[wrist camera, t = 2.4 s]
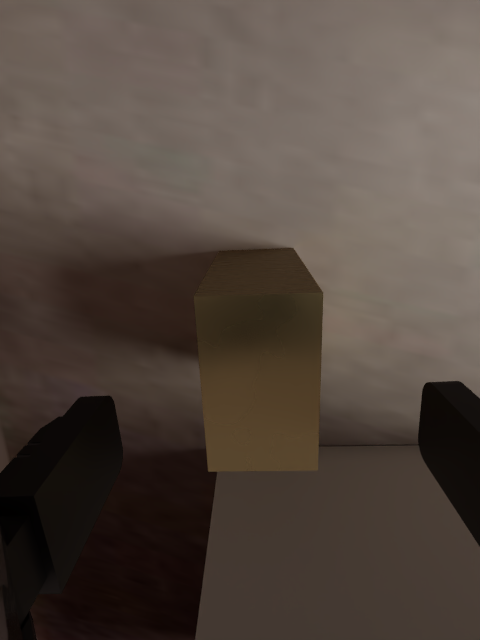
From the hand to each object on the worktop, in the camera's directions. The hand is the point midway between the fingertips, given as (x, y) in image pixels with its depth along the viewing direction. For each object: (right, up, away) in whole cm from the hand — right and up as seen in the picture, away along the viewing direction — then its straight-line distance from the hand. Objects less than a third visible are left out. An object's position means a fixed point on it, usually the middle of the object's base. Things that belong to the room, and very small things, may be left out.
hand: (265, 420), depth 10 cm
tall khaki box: (0, +3, +6) cm, 7 cm away
